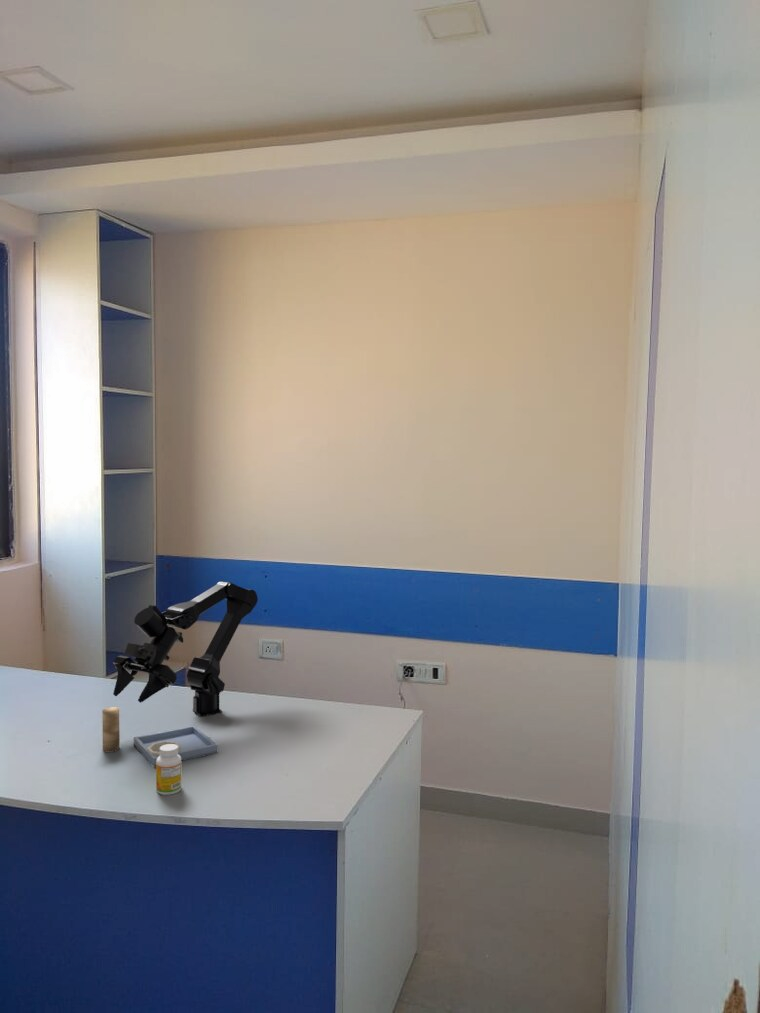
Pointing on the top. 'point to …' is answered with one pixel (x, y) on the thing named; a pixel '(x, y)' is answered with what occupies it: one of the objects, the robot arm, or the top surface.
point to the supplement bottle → (168, 770)
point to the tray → (176, 743)
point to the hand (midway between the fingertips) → (126, 698)
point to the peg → (110, 729)
